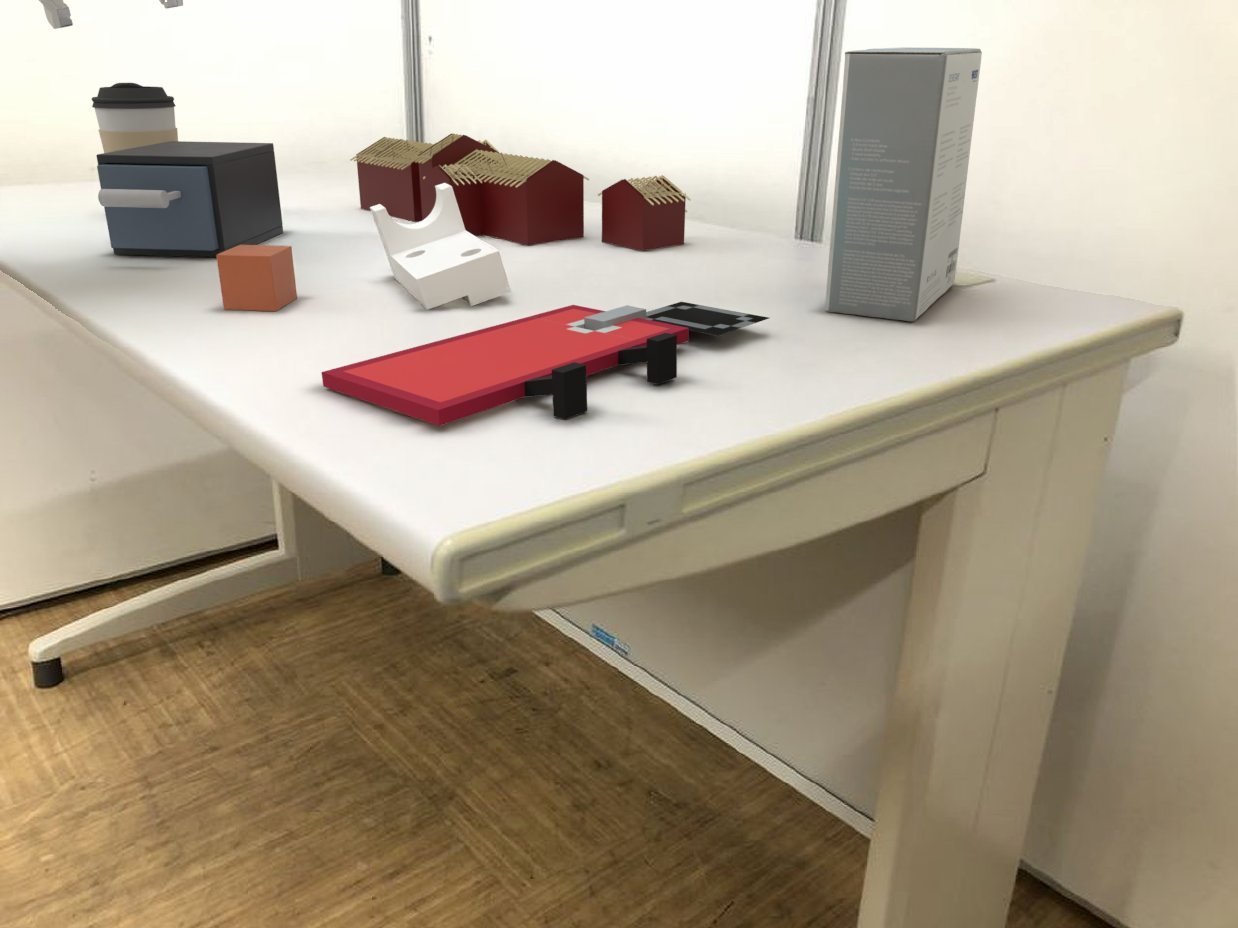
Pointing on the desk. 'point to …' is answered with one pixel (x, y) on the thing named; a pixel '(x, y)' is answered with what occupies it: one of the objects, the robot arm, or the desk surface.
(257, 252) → the block
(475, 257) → the bracket
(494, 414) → the desk surface
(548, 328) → the red board with handle
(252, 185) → the cabinet
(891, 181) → the hard drive box
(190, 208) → the drawer
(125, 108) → the coffee cup
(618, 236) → the toy houses
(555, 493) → the desk surface
